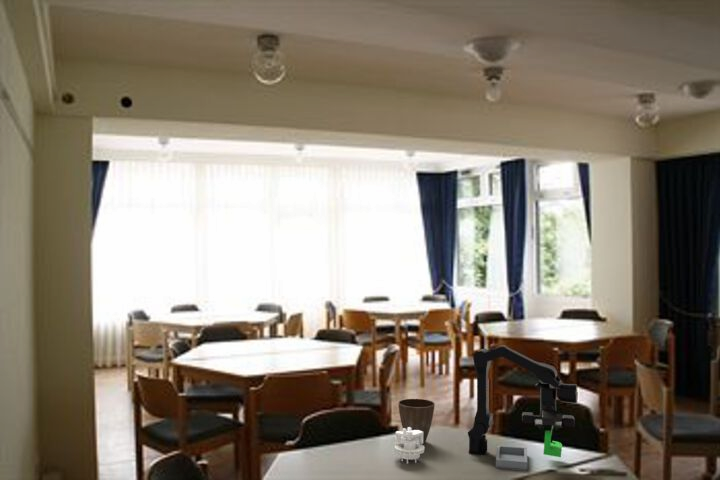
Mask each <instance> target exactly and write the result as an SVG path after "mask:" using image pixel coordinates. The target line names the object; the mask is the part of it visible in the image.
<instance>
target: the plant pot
mask: <svg viewBox="0 0 720 480" xmlns="http://www.w3.org/2000/svg"><path fill="white" fill-rule="evenodd" d="M397 404H398V413H399V418H400V419H399V420H400V424H401V427H402V429H403V428H405V429H407V428H408V427H410V428H412V430H420V431H422V432H423V444H421V443H418V444H421V445H424V444H426V441H427V439H428V435H429V433H430V430H431V426H432V422H433V417H434V411H435V405H436V403H435V402H434V401H433V400H429V399H423V398H405V399H401V400H399V401H398V402H397Z"/></svg>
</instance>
